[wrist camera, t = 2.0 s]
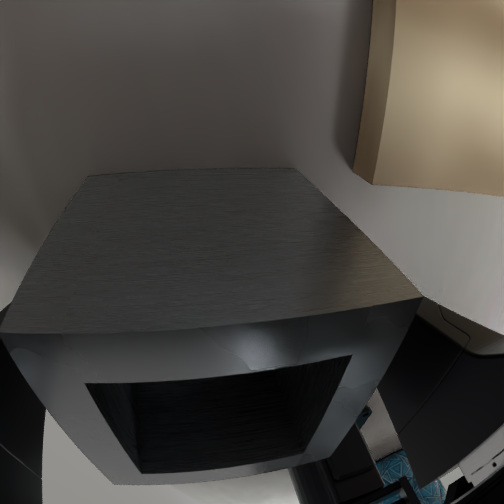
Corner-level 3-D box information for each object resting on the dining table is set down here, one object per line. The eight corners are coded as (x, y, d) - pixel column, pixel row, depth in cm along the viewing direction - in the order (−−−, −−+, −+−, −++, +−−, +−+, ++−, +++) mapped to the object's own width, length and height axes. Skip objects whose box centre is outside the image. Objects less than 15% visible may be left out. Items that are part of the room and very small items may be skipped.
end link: (274, 319, 12) (329, 456, 7) (119, 332, 11) (113, 484, 6) (294, 168, 9) (424, 296, 4) (87, 176, 8) (-2, 332, 3)
